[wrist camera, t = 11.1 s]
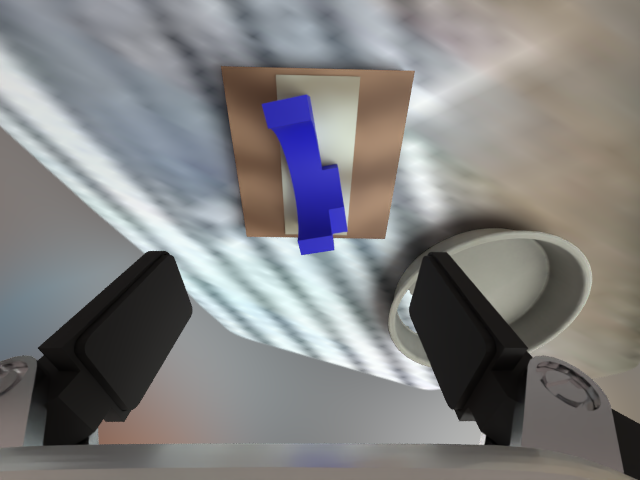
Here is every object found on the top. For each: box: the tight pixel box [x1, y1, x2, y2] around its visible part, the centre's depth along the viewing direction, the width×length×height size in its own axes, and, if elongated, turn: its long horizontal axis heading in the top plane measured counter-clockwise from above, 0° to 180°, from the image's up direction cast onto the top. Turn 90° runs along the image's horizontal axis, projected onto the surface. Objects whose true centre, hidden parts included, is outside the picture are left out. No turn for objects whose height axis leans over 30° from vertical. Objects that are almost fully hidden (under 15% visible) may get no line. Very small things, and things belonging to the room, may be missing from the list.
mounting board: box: [221, 66, 415, 239], centre depth 24 cm, size 16×16×2 cm
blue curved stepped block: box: [262, 94, 348, 255], centre depth 21 cm, size 12×4×6 cm, turn 10°
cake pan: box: [388, 228, 592, 368], centre depth 33 cm, size 25×25×4 cm
